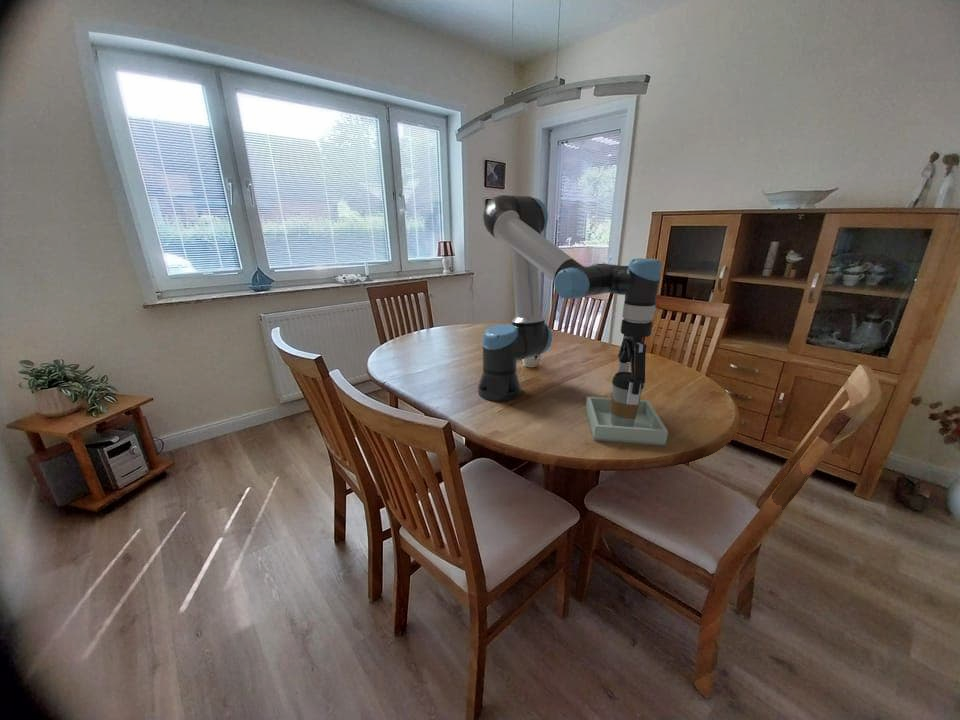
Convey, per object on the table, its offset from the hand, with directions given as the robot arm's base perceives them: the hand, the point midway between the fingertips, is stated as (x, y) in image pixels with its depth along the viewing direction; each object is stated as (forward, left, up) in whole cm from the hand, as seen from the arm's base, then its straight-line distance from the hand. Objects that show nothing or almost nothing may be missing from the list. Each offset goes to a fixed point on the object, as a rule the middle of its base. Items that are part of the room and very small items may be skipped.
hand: (626, 393), depth 102 cm
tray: (0, 0, -10) cm, 10 cm away
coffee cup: (0, 0, -10) cm, 10 cm away
